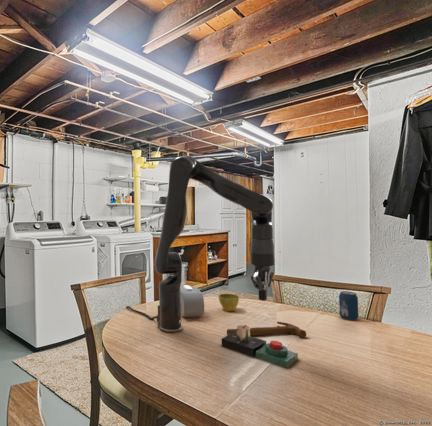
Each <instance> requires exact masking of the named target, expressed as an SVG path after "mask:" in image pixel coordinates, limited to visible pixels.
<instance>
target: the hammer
mask: <svg viewBox="0 0 432 426" xmlns="http://www.w3.org/2000/svg"><path fill="white" fill-rule="evenodd" d="M276 323H277V326H263V327H262V326H261V327H259V326H258V327H249V328H250V336H251V337H256V336H257V337H258V336H259V337H260V336H266V335H276V334H277V335H278V334H282V335H283V334H288V335H297V336H299V337H300V338H304V339H305V338H306V337H307V331H306V330H304V329H301V328H300V327H299V326H298V325H294V324H292V323H287V322H282V321H276ZM280 325H281V326H280ZM234 332H237V328H227V329H226V336H228V335H230V334H232V333H234Z"/></svg>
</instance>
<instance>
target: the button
mask: <svg viewBox="0 0 432 426" xmlns="http://www.w3.org/2000/svg"><path fill="white" fill-rule="evenodd" d="M269 343H270V347H271V348H273V349H277V350H282V345H283V343H282V342H281V341H279V340H270V341H269Z"/></svg>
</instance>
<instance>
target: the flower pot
mask: <svg viewBox="0 0 432 426" xmlns="http://www.w3.org/2000/svg"><path fill="white" fill-rule="evenodd" d="M217 296H218V300H219V304H220V306H221V307H222V309H223V310H224V311H225V312H234V311H235V310H236V309H237V306H238V305H239V302H240V295H237V294H234V293H220V294H218V295H217Z"/></svg>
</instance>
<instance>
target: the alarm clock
mask: <svg viewBox="0 0 432 426" xmlns="http://www.w3.org/2000/svg"><path fill="white" fill-rule="evenodd" d="M180 293H181V317H184V318H201V317H202V316H203V315H204V314H205V299H204V295H203V293H202V291H200V289H199V288H197V287H196V286H194V285H190V284H184V285H183V286H182V285H181V286H180Z"/></svg>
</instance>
